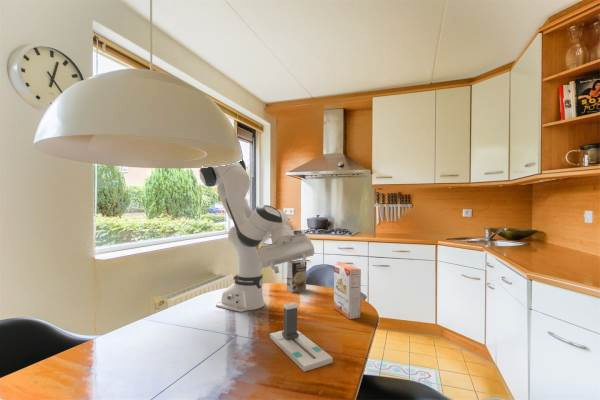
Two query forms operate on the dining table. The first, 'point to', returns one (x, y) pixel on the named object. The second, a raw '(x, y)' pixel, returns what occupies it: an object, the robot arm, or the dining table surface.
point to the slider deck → (302, 351)
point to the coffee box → (296, 276)
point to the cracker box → (347, 290)
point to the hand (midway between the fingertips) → (290, 268)
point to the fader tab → (290, 321)
